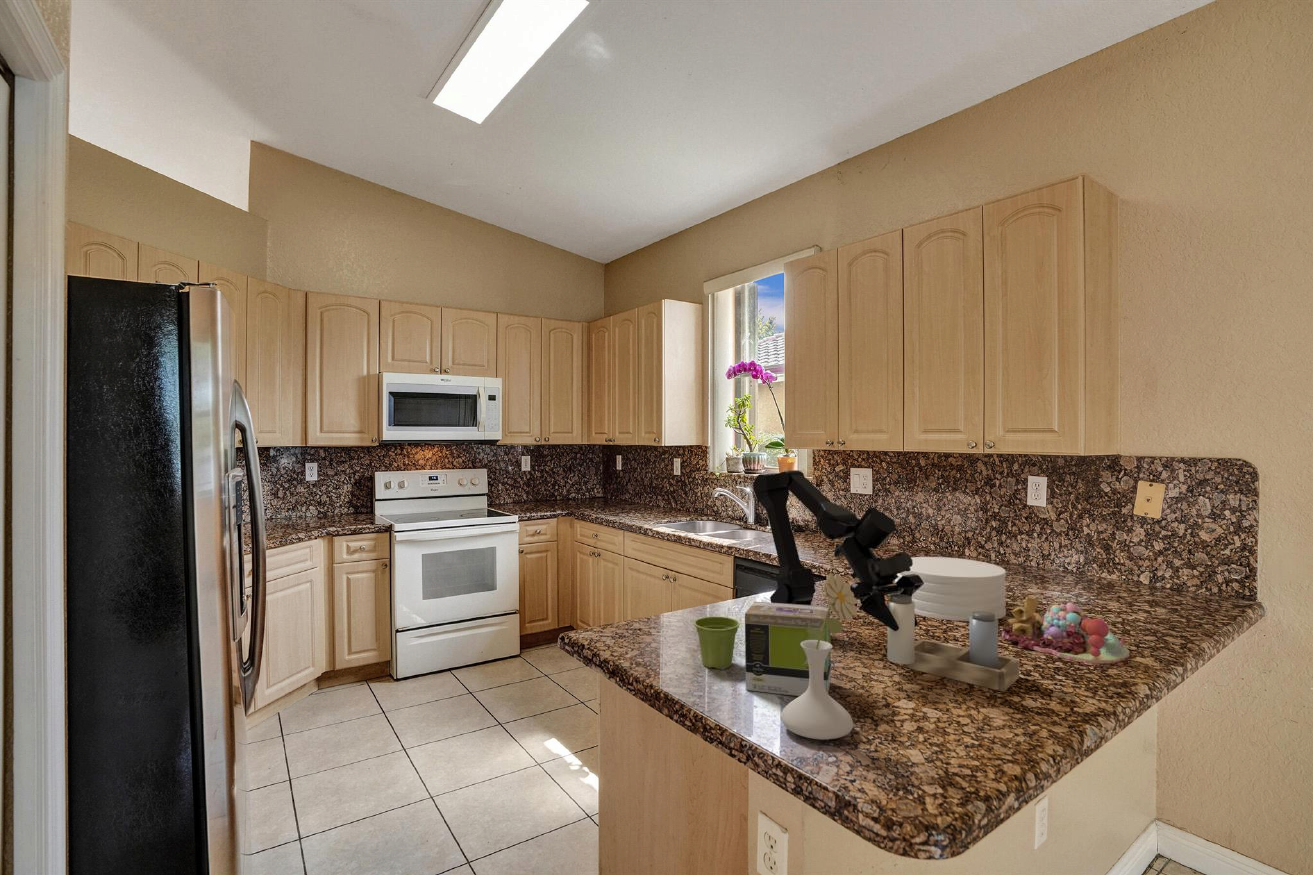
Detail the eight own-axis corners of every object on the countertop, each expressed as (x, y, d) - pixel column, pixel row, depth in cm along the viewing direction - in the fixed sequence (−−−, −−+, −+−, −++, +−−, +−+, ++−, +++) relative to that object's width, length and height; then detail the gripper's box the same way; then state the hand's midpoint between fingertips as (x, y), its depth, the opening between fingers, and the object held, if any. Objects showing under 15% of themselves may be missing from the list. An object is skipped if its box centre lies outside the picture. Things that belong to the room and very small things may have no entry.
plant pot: (709, 675, 127) (709, 631, 127) (685, 660, 136) (685, 619, 136) (748, 667, 132) (748, 625, 132) (723, 653, 140) (723, 614, 140)
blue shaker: (981, 683, 123) (980, 618, 123) (963, 673, 128) (963, 611, 128) (1004, 681, 124) (1003, 616, 124) (986, 672, 129) (985, 609, 129)
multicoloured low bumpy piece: (988, 644, 147) (988, 604, 147) (1015, 622, 164) (1015, 586, 164) (1122, 671, 130) (1122, 626, 130) (1136, 643, 147) (1136, 603, 147)
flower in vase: (809, 753, 96) (809, 585, 96) (766, 722, 106) (766, 571, 106) (877, 736, 101) (877, 578, 101) (830, 708, 112) (830, 564, 112)
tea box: (831, 681, 124) (831, 605, 124) (827, 702, 115) (827, 619, 115) (753, 672, 129) (753, 598, 129) (744, 691, 119) (743, 611, 119)
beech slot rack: (902, 666, 132) (902, 649, 132) (921, 654, 139) (921, 638, 139) (1004, 691, 119) (1004, 672, 119) (1019, 677, 126) (1019, 659, 126)
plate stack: (922, 590, 198) (922, 553, 198) (1021, 608, 178) (1021, 566, 178) (876, 606, 180) (876, 565, 179) (981, 628, 159) (981, 582, 159)
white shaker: (896, 665, 124) (896, 600, 124) (882, 656, 129) (882, 594, 129) (919, 663, 125) (919, 599, 125) (905, 654, 130) (905, 593, 130)
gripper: (852, 542, 126) (897, 612, 116) (916, 535, 135) (963, 599, 126) (823, 575, 133) (864, 643, 123) (886, 566, 142) (929, 629, 132)
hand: (906, 628), depth 126 cm, fingers closed on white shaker, 5 cm apart
